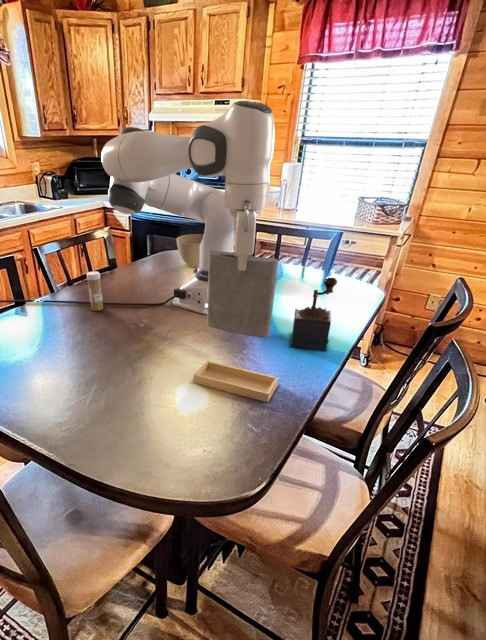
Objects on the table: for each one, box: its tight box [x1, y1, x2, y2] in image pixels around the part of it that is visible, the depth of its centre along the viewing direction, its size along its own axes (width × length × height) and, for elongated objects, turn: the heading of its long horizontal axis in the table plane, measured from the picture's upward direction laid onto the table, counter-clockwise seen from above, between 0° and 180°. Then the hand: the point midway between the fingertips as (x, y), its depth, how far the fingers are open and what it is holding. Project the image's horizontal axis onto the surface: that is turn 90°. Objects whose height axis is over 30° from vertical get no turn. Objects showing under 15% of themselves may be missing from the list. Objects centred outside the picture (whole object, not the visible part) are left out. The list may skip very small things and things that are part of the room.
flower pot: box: [176, 233, 204, 268], centre depth 194 cm, size 18×18×12 cm
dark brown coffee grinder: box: [290, 276, 338, 351], centre depth 125 cm, size 16×11×18 cm
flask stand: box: [193, 360, 280, 403], centre depth 107 cm, size 20×9×2 cm, turn 62°
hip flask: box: [206, 244, 279, 338], centre depth 94 cm, size 16×4×20 cm, turn 61°
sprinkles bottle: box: [86, 270, 104, 312], centre depth 149 cm, size 5×5×14 cm
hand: (241, 265), depth 92 cm, fingers closed on hip flask, 5 cm apart
